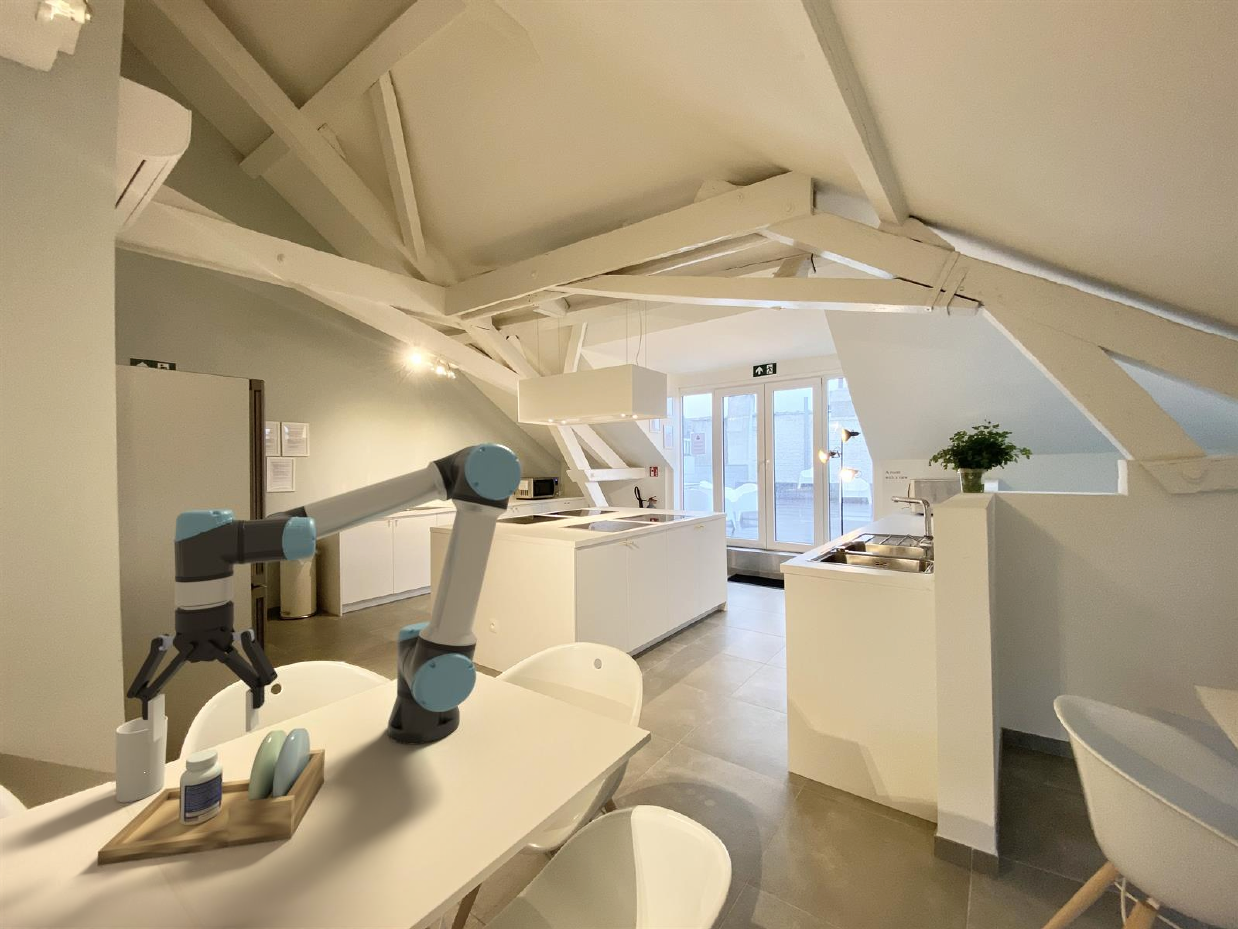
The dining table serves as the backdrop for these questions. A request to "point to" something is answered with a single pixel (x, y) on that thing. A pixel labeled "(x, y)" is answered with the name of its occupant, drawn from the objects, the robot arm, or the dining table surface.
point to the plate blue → (291, 761)
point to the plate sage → (265, 765)
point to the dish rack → (216, 820)
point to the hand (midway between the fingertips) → (205, 733)
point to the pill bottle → (200, 788)
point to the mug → (138, 761)
